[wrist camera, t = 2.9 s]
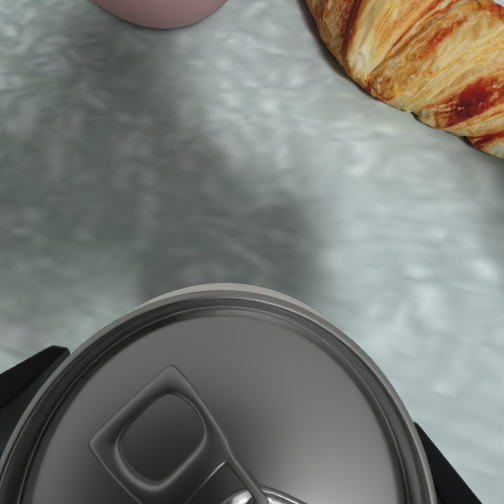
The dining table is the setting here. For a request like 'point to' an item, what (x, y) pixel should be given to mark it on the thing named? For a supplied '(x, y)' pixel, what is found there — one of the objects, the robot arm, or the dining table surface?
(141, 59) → the dining table surface
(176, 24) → the mortar and pestle
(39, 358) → the robot arm
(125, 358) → the can
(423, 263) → the dining table surface
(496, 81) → the croissant
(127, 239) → the dining table surface
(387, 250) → the dining table surface
